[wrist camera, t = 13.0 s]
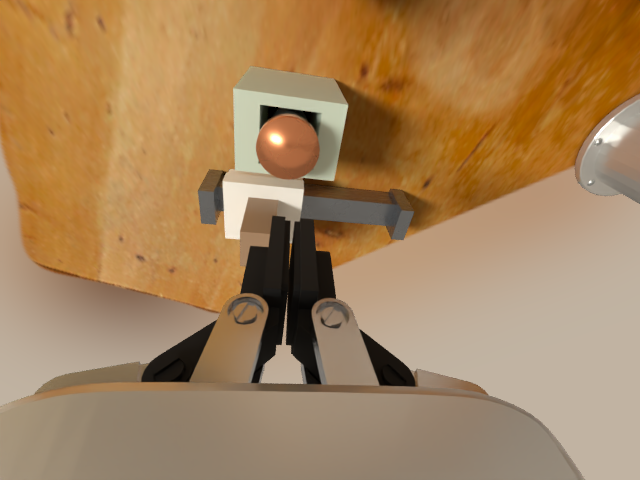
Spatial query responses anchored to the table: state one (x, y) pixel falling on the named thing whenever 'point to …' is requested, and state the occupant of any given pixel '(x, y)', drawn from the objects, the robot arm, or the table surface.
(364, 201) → the rail
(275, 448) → the robot arm
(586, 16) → the table surface
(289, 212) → the carriage
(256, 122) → the pale green open box
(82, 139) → the table surface
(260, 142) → the jar with copper lid
